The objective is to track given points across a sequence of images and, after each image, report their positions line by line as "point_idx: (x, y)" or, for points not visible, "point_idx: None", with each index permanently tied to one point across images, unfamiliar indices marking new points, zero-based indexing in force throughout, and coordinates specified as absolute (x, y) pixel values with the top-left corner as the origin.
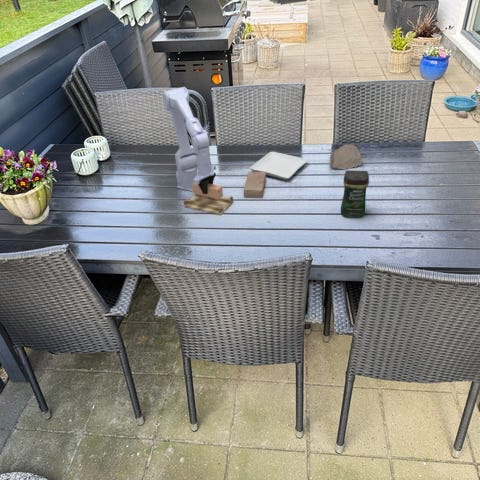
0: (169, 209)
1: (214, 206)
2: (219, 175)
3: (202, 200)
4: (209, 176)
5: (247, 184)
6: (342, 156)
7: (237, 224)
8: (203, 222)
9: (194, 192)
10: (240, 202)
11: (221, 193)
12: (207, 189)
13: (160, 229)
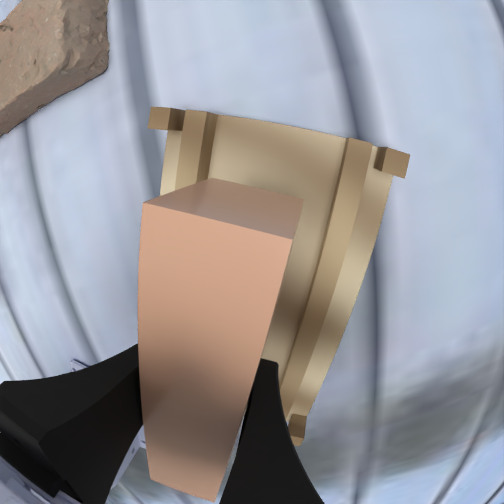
0: (332, 456)
1: (344, 230)
2: (4, 296)
3: None
4: (79, 463)
5: (14, 82)
6: None
7: (464, 15)
8: (481, 262)
9: (237, 436)
10: (167, 62)
11: (223, 189)
12: (257, 393)
13: (490, 427)
